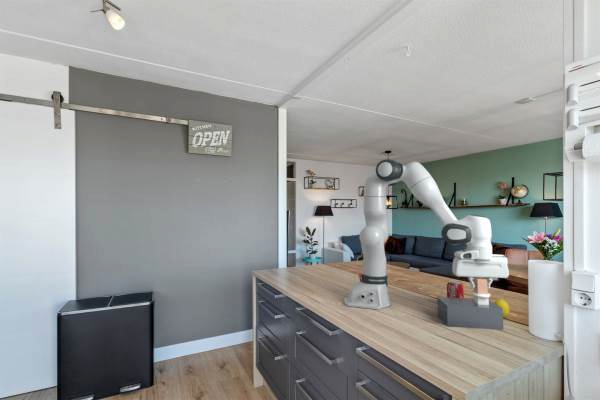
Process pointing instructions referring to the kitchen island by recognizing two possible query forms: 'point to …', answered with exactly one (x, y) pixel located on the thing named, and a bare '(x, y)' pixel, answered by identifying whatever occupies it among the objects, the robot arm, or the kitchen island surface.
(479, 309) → the block
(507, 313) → the lemon
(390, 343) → the kitchen island surface
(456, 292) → the soda can
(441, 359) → the kitchen island surface
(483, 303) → the pink white square peg
